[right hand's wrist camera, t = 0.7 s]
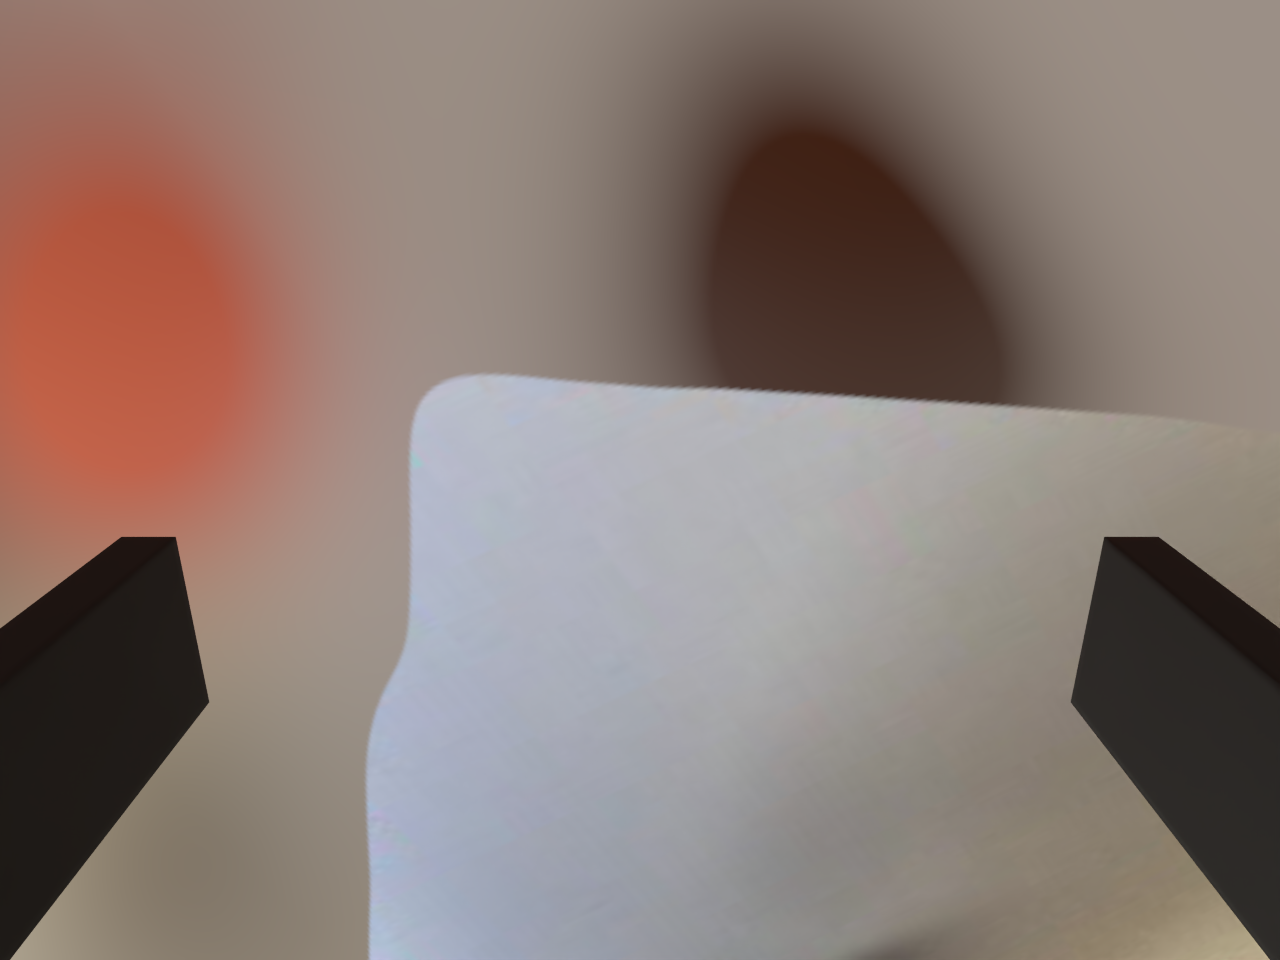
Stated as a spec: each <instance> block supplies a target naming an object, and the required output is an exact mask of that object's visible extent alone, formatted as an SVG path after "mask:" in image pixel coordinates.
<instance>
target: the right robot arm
mask: <svg viewBox="0 0 1280 960" xmlns="http://www.w3.org/2000/svg"><path fill="white" fill-rule="evenodd" d="M208 703H209V699H208V694H207V689H206V684H205V679H204V674H203V669H202V664H201V660H200V655H199V650H198V645H197V640H196V635H195V630H194V625H193V620H192V615H191V610H190V605H189V600H188V596H187V591H186V586H185V581H184V576H183V571H182V566H181V561H180V556H179V551H178V546H177V541H176V537H121V538H119V539H118V540H117V541H115V542H114V543H113V544H112V545H110V546H109V547H108V548H106V549H105V550H104V551H102V552H101V553H100V554H98V555H97V556H96V557H94V558H93V559H92V560H90V561H89V562H88V563H86V564H85V565H84V566H82V567H81V568H80V569H78V570H77V571H76V572H74V573H73V574H72V575H71V576H69V577H68V578H67V579H65V580H64V581H63V582H61V583H60V584H59V585H57V586H56V587H55V588H53V589H52V590H51V591H49V592H48V593H47V594H45V595H44V596H43V597H41V598H40V599H39V600H37V601H36V602H35V603H33V604H32V605H31V606H29V607H28V608H27V609H26V610H24V611H23V612H21V613H20V614H19V615H17V616H16V617H15V618H13V619H12V620H11V621H10V622H8V623H7V624H6V625H4V626H3V627H2V628H0V960H10V959H11V958H12V956H13V955H14V954H15V952H16V951H17V950H18V949H19V947H20V946H21V945H22V943H23V942H24V941H25V940H26V938H27V937H28V936H29V934H30V933H31V932H32V931H33V929H34V928H35V927H36V925H37V924H38V923H39V921H40V920H41V919H42V918H43V916H44V915H45V914H46V912H47V911H48V910H49V909H50V907H51V906H52V905H53V903H54V902H55V901H56V899H57V898H58V897H59V896H60V894H61V893H62V892H63V890H64V889H65V888H66V887H67V885H68V884H69V883H70V881H71V880H72V879H73V878H74V876H75V875H76V874H77V872H78V871H79V870H80V868H81V867H82V866H83V865H84V863H85V862H86V861H87V859H88V858H89V857H90V856H91V854H92V853H93V852H94V850H95V849H96V848H97V846H98V845H99V844H100V843H101V841H102V840H103V839H104V837H105V836H106V835H107V834H108V832H109V831H110V830H111V828H112V827H113V826H114V825H115V823H116V822H117V821H118V819H119V818H120V817H121V815H122V814H123V813H124V812H125V810H126V809H127V808H128V806H129V805H130V804H131V802H132V801H133V800H134V799H135V797H136V796H137V795H138V794H139V792H140V791H141V790H142V788H143V787H144V786H145V784H146V783H147V782H148V781H149V779H150V778H151V777H152V775H153V774H154V773H155V772H156V770H157V769H158V768H159V766H160V765H161V764H162V763H163V761H164V760H165V759H166V757H167V756H168V755H169V753H170V752H171V751H172V750H173V748H174V747H175V746H176V744H177V743H178V742H179V741H180V739H181V738H182V737H183V735H184V734H185V733H186V731H187V730H188V729H189V728H190V726H191V725H192V724H193V722H194V721H195V720H196V718H197V717H198V716H199V715H200V713H201V712H202V711H203V710H204V708H205V707H206V706H207V704H208ZM1071 703H1072V704H1073V706H1074V707H1075V708H1076V710H1077V711H1078V712H1079V713H1080V715H1081V716H1082V717H1083V719H1084V720H1085V721H1086V722H1087V724H1088V725H1089V726H1090V728H1091V729H1092V730H1093V731H1094V733H1095V734H1096V735H1097V737H1098V738H1099V739H1100V741H1101V742H1102V743H1103V744H1104V746H1105V747H1106V748H1107V750H1108V751H1109V752H1110V753H1111V755H1112V756H1113V757H1114V759H1115V760H1116V761H1117V763H1118V764H1119V765H1120V766H1121V768H1122V769H1123V770H1124V772H1125V773H1126V774H1127V775H1128V777H1129V778H1130V779H1131V781H1132V782H1133V783H1134V784H1135V786H1136V787H1137V788H1138V790H1139V791H1140V792H1141V794H1142V795H1143V796H1144V797H1145V799H1146V800H1147V801H1148V803H1149V804H1150V805H1151V806H1152V808H1153V809H1154V810H1155V812H1156V813H1157V814H1158V815H1159V817H1160V818H1161V819H1162V821H1163V822H1164V823H1165V825H1166V826H1167V827H1168V828H1169V830H1170V831H1171V832H1172V834H1173V835H1174V836H1175V837H1176V839H1177V840H1178V841H1179V843H1180V844H1181V845H1182V847H1183V848H1184V849H1185V850H1186V852H1187V853H1188V854H1189V856H1190V857H1191V858H1192V859H1193V861H1194V862H1195V863H1196V865H1197V866H1198V867H1199V868H1200V870H1201V871H1202V872H1203V874H1204V875H1205V876H1206V878H1207V879H1208V880H1209V881H1210V883H1211V884H1212V885H1213V887H1214V888H1215V889H1216V890H1217V892H1218V893H1219V894H1220V896H1221V897H1222V898H1223V900H1224V901H1225V902H1226V903H1227V905H1228V906H1229V907H1230V909H1231V910H1232V911H1233V912H1234V914H1235V915H1236V916H1237V918H1238V919H1239V920H1240V921H1241V923H1242V924H1243V925H1244V927H1245V928H1246V929H1247V931H1248V932H1249V933H1250V934H1251V936H1252V937H1253V938H1254V940H1255V941H1256V942H1257V943H1258V945H1259V946H1260V947H1261V949H1262V950H1263V951H1264V952H1265V954H1266V955H1267V956H1268V958H1269V959H1270V960H1280V628H1278V627H1277V626H1276V625H1274V624H1273V623H1272V622H1270V621H1269V620H1268V619H1267V618H1265V617H1264V616H1263V615H1261V614H1260V613H1259V612H1257V611H1256V610H1255V609H1253V608H1252V607H1251V606H1249V605H1248V604H1247V603H1245V602H1244V601H1243V600H1241V599H1240V598H1239V597H1237V596H1236V595H1235V594H1233V593H1232V592H1231V591H1229V590H1228V589H1227V588H1225V587H1224V586H1223V585H1221V584H1220V583H1219V582H1218V581H1216V580H1215V579H1214V578H1212V577H1211V576H1210V575H1208V574H1207V573H1206V572H1204V571H1203V570H1202V569H1200V568H1199V567H1198V566H1196V565H1195V564H1194V563H1192V562H1191V561H1190V560H1188V559H1187V558H1186V557H1184V556H1183V555H1182V554H1180V553H1179V552H1178V551H1176V550H1175V549H1174V548H1172V547H1171V546H1170V545H1169V544H1167V543H1166V542H1165V541H1163V540H1162V539H1161V538H1159V537H1104V541H1103V546H1102V551H1101V556H1100V561H1099V566H1098V571H1097V576H1096V581H1095V586H1094V591H1093V595H1092V600H1091V605H1090V610H1089V615H1088V620H1087V625H1086V630H1085V635H1084V640H1083V645H1082V650H1081V655H1080V659H1079V664H1078V669H1077V674H1076V679H1075V684H1074V689H1073V694H1072V699H1071Z"/></svg>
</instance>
